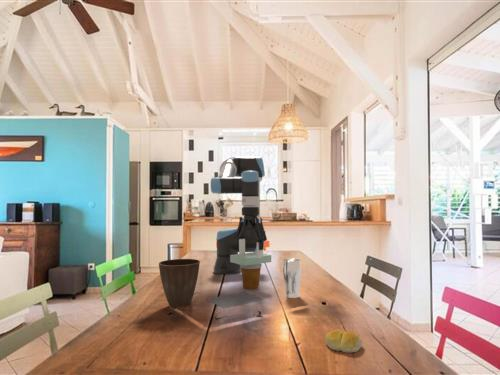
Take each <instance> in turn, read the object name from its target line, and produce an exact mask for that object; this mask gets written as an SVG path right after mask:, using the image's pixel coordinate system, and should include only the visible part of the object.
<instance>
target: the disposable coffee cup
mask: <svg viewBox="0 0 500 375" xmlns="http://www.w3.org/2000/svg"><path fill="white" fill-rule="evenodd" d="M262 265H263V263H261V264H253V265H246V266H243V265H240V267H241V272H240V273H241V278H242V279H241V280H242V286H243V289H244V290H248V291H254V290H257V289H259V287H260V279H261V268H262Z"/></svg>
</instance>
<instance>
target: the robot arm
mask: <svg viewBox="0 0 500 375" xmlns="http://www.w3.org/2000/svg"><path fill="white" fill-rule="evenodd" d="M265 173H266V172H265V166H264V160H263V158H262V157H261V156H255V155H254V156H252V155H251V156H232V157H230V158H227V159H226V160H223V162H221V164H220V166H219V174H218V176H216V177H211V179H210V192H211V193H212V194H216V195H217V194H219V195H220V194H221V195H222V194H225V195H226V194H241V206H242V207H241V216H239V221H238V222H239V223H238V226H237V227H235V228H233V227H232V228H226V229H221V230H220V229H219V230H218V231H217V232H216V259H215V261H214V265H213V273H214V274H219V275H235V274H239V273H242V272H241V267H240V264H236V263H232V262H230V255H235V254H244V253H253V252H257V258H263V254H264V248H265V241H266V242H267V241H268V238H267V235H266V233H267V232H266V230H265V228H264V224H263V218H262V217H261V195H260V194H261V193H260V192H261V189H260V188H261V185H260V184H261V182H262V180H263V178H264V177H265Z"/></svg>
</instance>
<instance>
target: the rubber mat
mask: <svg viewBox="0 0 500 375" xmlns="http://www.w3.org/2000/svg"><path fill="white" fill-rule="evenodd" d="M205 300H206V301H207V302H210V303H212V304H214V305H216V306H218V307H220V308H222V309H226V308H231V307H236V306H241V305H246V304H247V305H248V304H252V303H256V302H260V301H265V300H266V299H264V298H261V297H259V296H256V295H254V294H252V293H249V292H246V291H241V292H236V293H231V294H225V295H221V296H214V297H210V298H205Z"/></svg>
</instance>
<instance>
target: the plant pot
mask: <svg viewBox="0 0 500 375" xmlns="http://www.w3.org/2000/svg"><path fill="white" fill-rule="evenodd" d="M200 263H201V261H200V260H199V259H194V258H193V259H192V258H175V259H167V260H162V261H159V262H158V270H159V276H160V280H161V284H162V288H163V291H164V295H165V298H166V301H167V303H168V305H169V308H171V307H172V308H171V309H175V308H178V307H185V306H188V305H190V304H192V301H193V297H194V295H195V294H194V293H195V292H196V286H197V282H198V278H199V271H200Z"/></svg>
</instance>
